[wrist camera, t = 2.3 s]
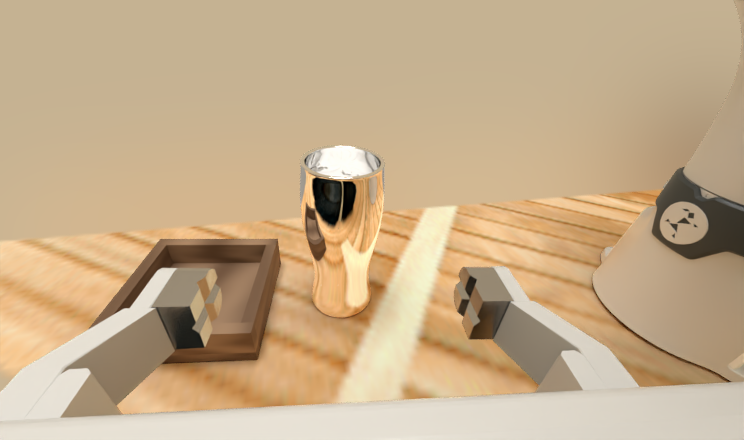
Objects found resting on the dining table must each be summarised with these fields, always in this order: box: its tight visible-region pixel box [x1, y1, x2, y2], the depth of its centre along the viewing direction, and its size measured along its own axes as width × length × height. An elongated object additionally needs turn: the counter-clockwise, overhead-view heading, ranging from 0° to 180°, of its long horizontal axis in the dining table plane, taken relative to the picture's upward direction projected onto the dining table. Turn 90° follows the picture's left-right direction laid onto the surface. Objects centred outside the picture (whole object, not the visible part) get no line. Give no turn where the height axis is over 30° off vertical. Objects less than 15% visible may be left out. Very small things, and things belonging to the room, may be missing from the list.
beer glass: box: [300, 145, 385, 318], centre depth 28 cm, size 7×7×15 cm
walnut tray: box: [88, 239, 281, 363], centre depth 29 cm, size 12×12×4 cm
